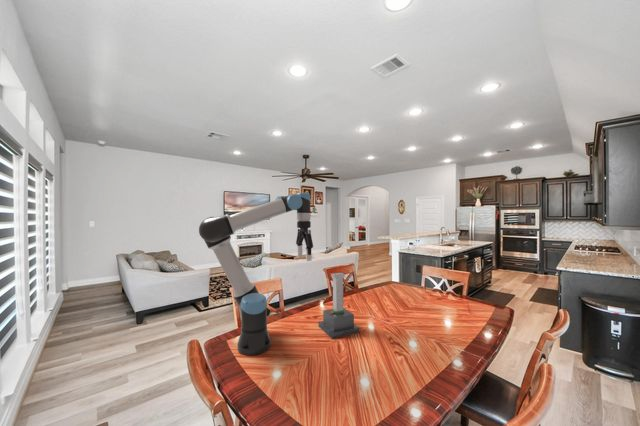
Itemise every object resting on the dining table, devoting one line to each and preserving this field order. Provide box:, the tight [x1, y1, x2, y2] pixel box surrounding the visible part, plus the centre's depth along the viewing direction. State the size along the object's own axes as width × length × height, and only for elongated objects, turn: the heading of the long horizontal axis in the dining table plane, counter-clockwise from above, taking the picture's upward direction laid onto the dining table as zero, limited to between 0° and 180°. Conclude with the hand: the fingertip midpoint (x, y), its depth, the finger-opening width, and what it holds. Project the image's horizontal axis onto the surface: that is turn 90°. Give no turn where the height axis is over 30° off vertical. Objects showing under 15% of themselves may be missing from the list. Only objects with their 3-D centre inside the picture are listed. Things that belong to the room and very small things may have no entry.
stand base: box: [318, 307, 360, 340], centre depth 141 cm, size 16×16×10 cm
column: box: [330, 272, 345, 315], centre depth 141 cm, size 6×4×24 cm
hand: (304, 258), depth 147 cm, fingers open, 13 cm apart
